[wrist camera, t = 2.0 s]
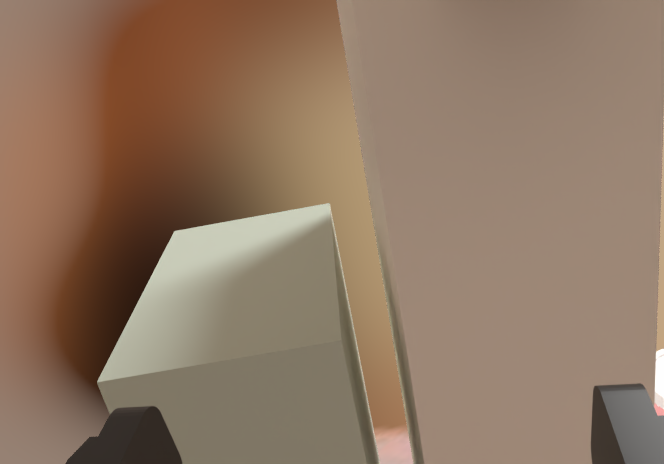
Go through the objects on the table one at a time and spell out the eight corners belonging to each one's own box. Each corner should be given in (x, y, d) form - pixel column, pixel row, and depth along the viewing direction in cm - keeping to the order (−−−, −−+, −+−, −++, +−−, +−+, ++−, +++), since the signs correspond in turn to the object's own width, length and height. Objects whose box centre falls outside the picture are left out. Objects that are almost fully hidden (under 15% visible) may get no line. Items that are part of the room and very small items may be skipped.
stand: (644, 712, 28) (668, -65, 15) (251, 769, 29) (-29, 70, 16) (546, 495, 39) (515, -51, 27) (268, 539, 40) (112, 27, 28)
